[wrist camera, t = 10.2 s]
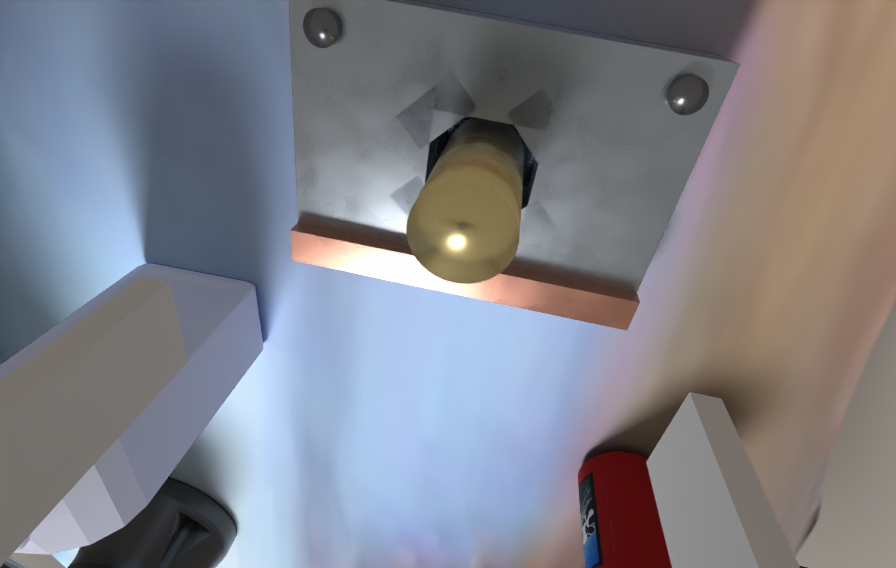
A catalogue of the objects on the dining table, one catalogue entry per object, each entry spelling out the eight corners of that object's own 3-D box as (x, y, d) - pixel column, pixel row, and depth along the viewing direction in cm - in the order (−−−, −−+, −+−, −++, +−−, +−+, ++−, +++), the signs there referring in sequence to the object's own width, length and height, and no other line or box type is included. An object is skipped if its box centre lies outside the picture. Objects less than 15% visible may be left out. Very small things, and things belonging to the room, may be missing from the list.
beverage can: (561, 459, 40) (569, 619, 30) (635, 432, 37) (672, 601, 27) (603, 502, 42) (624, 664, 32) (676, 480, 39) (725, 652, 29)
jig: (317, 230, 31) (291, 259, 28) (314, -18, 23) (277, -18, 20) (616, 292, 30) (626, 330, 27) (717, 54, 22) (749, 67, 19)
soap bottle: (164, 332, 39) (-193, 668, 20) (143, 260, 35) (-324, 592, 16) (267, 352, 38) (2, 720, 19) (258, 282, 34) (-85, 654, 15)
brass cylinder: (441, 186, 28) (401, 271, 20) (452, 109, 26) (412, 170, 17) (514, 200, 28) (505, 293, 20) (532, 124, 25) (531, 194, 17)
